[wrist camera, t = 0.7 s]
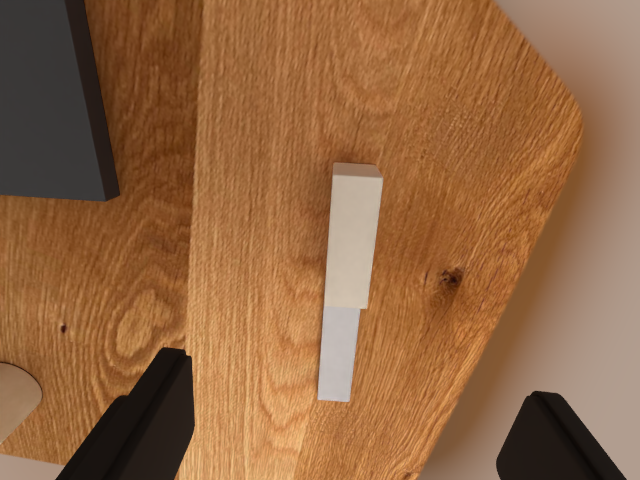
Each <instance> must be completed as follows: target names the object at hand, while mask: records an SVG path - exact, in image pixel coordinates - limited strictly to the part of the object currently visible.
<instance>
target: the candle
mask: <svg viewBox="0 0 640 480" xmlns="http://www.w3.org/2000/svg"><path fill="white" fill-rule="evenodd" d="M41 399H42V391H41V388H40V386H39V384H38V383H37V382H36V380H35V379H34V378H33V377H32V376H31V375H29V374H28V373H27V372H25V371H23V370H22V369H20V368H18V367H15V366H13V365H10V364H5V363H0V444H1V443H2V442H3V441H4V440H5V439H6V438H7V437H8V436H9V435H10V434H11V433H12V432H13V431H14V430H15V429H16V428H17V427H18V426H19V425H20V424H21V423H22V422H23V420H24V419H25V418H26V417H27V416H28V415H29V414H30V413H31V412H32V411H33V410H34V409H35V408H36V407H37V406H38V404H39V403H40V401H41Z"/></svg>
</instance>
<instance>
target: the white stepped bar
mask: <svg viewBox="0 0 640 480" xmlns="http://www.w3.org/2000/svg"><path fill="white" fill-rule="evenodd" d="M382 186H383V177H382V175H381V173H380V171H379V170H378V168H377V166H376V165H371V164H355V163H339V162H334V163H333V175H332V190H331V205H330V220H329V235H328V249H327V264H326V279H325V294H324V309H323V323H322V338H321V353H320V368H319V382H318V397H317V399H318V400H329V401H342V402H349V400H350V392H351V384H352V375H353V367H354V359H355V350H356V342H357V333H358V325H359V317H360V309H366V308H367V303H368V295H369V288H370V280H371V272H372V264H373V256H374V249H375V241H376V233H377V225H378V217H379V210H380V202H381V194H382Z"/></svg>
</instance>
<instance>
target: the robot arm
mask: <svg viewBox="0 0 640 480" xmlns="http://www.w3.org/2000/svg"><path fill="white" fill-rule="evenodd" d="M194 426H195V419H194V397H193V375H192V358H191V356H187V355H186V351H185V350H183V349H175V348H166V347H163V348H161V350H160V351H159V352H158V354H157V355H156V356H155V358H154V359H153V361H152V362H151V363H150V365H149V366H148V368H147V369H146V371H145V372H144V373H143V375H142V376H141V378H140V379H139V381H138V382H137V383H136V385H135V386H134V388H133V389H132V391H131V392H130V393H129V395H128V396H126V395H122V396H119V397H118V398H116V399H115V400H114V401H113V403H112V404H111V405H110V406H109V408H108V409H107V410H106V412H105V413H104V414H103V416H102V417H101V418H100V420H99V421H98V423H97V424H96V425H95V427H94V428H93V429H92V431H91V432H90V433H89V435H88V436H87V437H86V439H85V440H84V442H83V443H82V444H81V446H80V447H79V448H78V450H77V451H76V452H75V454H74V455H73V456H72V458H71V459H70V461H69V462H68V463H67V465H66V466H65V467H64V469H63V470H62V471H61V473H60V474H59V475H58V477H57V478H56V479H55V480H174V478H175V476H176V473H177V471H178V469H179V466H180V464H181V462H182V459H183V457H184V455H185V452H186V450H187V448H188V445H189V443H190V440H191V438H192V435H193V431H194ZM496 467H497V472H498V475H499V477H500V479H501V480H627V479H626V478H625V477H624V476H623V474H622V473H621V472H620V470H619V469H618V468H617V466H616V465H615V464H614V462H613V461H612V460H611V459H610V457H609V456H608V455H607V453H606V452H605V451H604V450H603V448H602V447H601V446H600V444H599V443H598V442H597V441H596V439H595V438H594V437H593V435H592V434H591V433H590V431H589V430H588V429H587V428H586V426H585V425H584V424H583V422H582V421H581V420H580V418H579V417H578V416H577V415H576V413H575V412H574V411H573V410H572V408H571V407H570V406H569V404H568V403H567V402H566V400H565V399H564V398H563V397H562V396H561V395H559V394H558V393H550V392H541V391H534V392H532V394H531V395H530V396H527V397H526V398H525V400H524V402H523V404H522V407H521V409H520V411H519V413H518V415H517V417H516V419H515V421H514V423H513V425H512V428H511V430H510V432H509V434H508V436H507V438H506V440H505V442H504V445H503V447H502V449H501V451H500V453H499V455H498V457H497V461H496Z"/></svg>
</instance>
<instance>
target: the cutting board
mask: <svg viewBox="0 0 640 480" xmlns="http://www.w3.org/2000/svg"><path fill="white" fill-rule="evenodd" d="M0 195H12V196H28V197H43V198H58V199H73V200H89V201H104V202H106V201H108V200H110V199H113V198H115V197H117V196H119V195H120V193H119V187H118V182H117V177H116V171H115V166H114V161H113V156H112V150H111V145H110V140H109V134H108V129H107V124H106V118H105V113H104V108H103V102H102V97H101V92H100V86H99V81H98V76H97V71H96V65H95V60H94V55H93V49H92V44H91V39H90V33H89V28H88V23H87V17H86V12H85V7H84V2H83V0H0Z"/></svg>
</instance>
